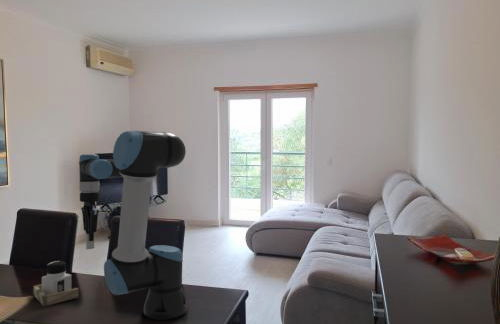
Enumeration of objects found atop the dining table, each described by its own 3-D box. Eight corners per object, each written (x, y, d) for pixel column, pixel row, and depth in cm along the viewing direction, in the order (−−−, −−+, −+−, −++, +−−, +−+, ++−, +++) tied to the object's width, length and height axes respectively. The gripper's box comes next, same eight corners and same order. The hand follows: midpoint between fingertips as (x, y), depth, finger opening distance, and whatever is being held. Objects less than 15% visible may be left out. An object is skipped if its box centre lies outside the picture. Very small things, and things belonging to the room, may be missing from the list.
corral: (78, 297, 143) (78, 288, 143) (43, 306, 134) (43, 297, 134) (66, 287, 153) (66, 278, 153) (33, 294, 145) (33, 286, 145)
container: (71, 293, 146) (71, 261, 146) (53, 300, 140) (53, 266, 139) (59, 289, 150) (59, 258, 150) (41, 296, 143) (41, 263, 143)
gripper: (105, 192, 149) (105, 249, 150) (92, 190, 159) (93, 244, 159) (86, 193, 144) (86, 253, 144) (74, 191, 153) (75, 247, 154)
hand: (90, 248), depth 152 cm, fingers closed
